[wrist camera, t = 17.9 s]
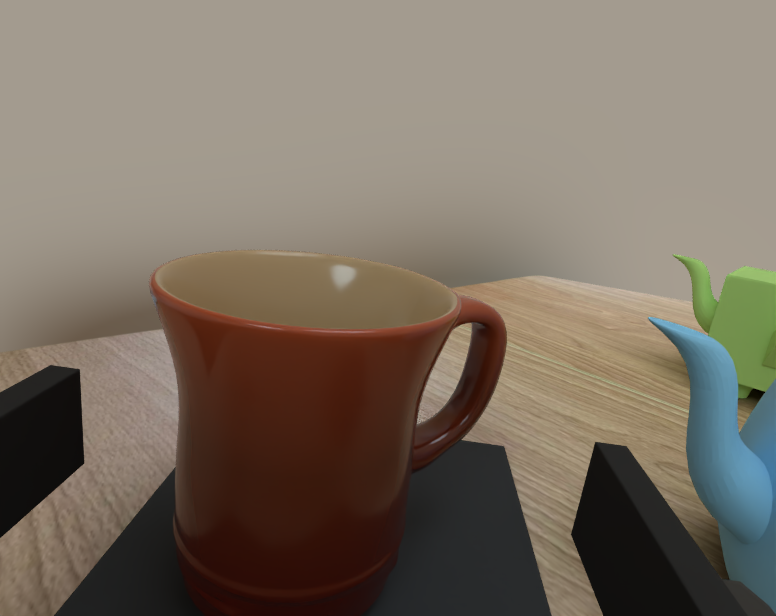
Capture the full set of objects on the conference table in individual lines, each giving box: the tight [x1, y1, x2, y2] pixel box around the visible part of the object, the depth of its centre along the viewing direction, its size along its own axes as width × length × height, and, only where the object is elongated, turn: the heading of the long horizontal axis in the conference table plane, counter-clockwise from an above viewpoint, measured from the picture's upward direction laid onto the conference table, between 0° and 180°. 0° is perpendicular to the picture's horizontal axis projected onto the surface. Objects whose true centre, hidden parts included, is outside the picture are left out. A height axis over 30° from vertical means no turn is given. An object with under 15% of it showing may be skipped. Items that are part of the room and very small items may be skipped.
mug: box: [149, 250, 507, 616], centre depth 18 cm, size 13×9×11 cm
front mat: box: [54, 440, 551, 616], centre depth 20 cm, size 16×20×1 cm
